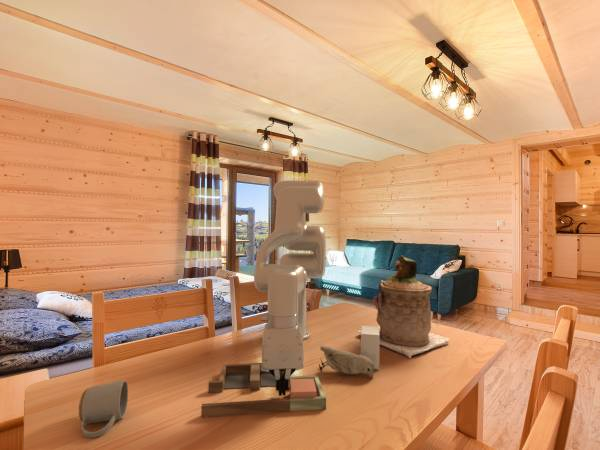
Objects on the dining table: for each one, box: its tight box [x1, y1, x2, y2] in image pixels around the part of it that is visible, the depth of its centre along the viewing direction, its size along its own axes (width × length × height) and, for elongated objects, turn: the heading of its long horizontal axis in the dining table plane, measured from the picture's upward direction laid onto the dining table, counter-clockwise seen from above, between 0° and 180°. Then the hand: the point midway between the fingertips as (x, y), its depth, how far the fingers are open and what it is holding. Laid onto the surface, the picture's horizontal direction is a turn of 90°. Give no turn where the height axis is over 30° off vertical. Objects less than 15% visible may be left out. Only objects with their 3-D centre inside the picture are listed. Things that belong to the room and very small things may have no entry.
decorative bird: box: [318, 344, 375, 379], centre depth 91 cm, size 5×16×8 cm, turn 73°
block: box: [289, 379, 318, 398], centre depth 77 cm, size 6×6×4 cm
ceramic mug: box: [78, 379, 129, 439], centre depth 68 cm, size 11×8×8 cm
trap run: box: [200, 362, 327, 418], centre depth 82 cm, size 20×28×2 cm
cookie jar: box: [357, 255, 450, 359], centre depth 117 cm, size 25×25×32 cm
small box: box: [360, 325, 381, 371], centre depth 97 cm, size 8×6×10 cm
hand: (281, 392), depth 78 cm, fingers closed
